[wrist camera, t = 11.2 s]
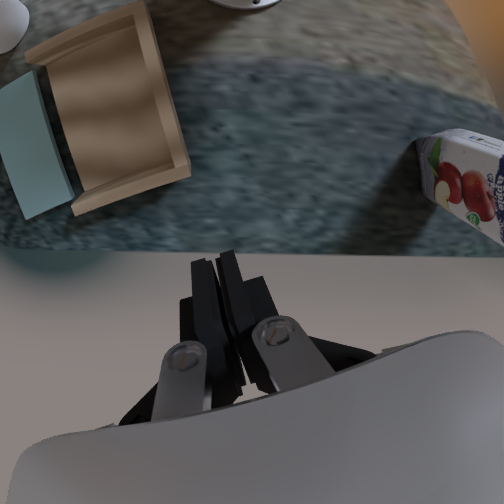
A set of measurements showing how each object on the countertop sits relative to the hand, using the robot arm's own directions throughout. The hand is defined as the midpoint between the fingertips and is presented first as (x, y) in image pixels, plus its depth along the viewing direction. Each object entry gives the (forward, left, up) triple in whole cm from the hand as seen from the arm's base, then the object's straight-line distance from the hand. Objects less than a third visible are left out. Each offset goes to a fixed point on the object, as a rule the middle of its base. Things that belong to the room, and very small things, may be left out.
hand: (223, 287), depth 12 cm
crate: (-9, -7, -25) cm, 28 cm away
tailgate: (-9, -15, -25) cm, 30 cm away
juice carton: (+7, +32, -25) cm, 41 cm away
